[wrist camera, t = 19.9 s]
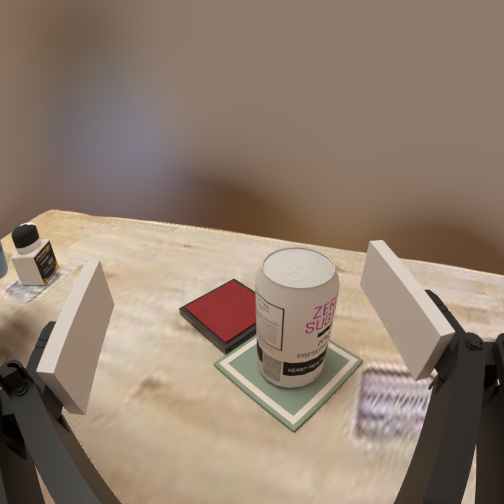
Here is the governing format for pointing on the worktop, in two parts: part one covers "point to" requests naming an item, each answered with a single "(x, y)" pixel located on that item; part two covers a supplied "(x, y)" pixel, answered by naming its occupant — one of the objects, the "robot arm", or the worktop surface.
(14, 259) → the medicine bottle
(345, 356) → the mat
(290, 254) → the supplement can
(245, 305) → the ink pad
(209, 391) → the worktop surface
